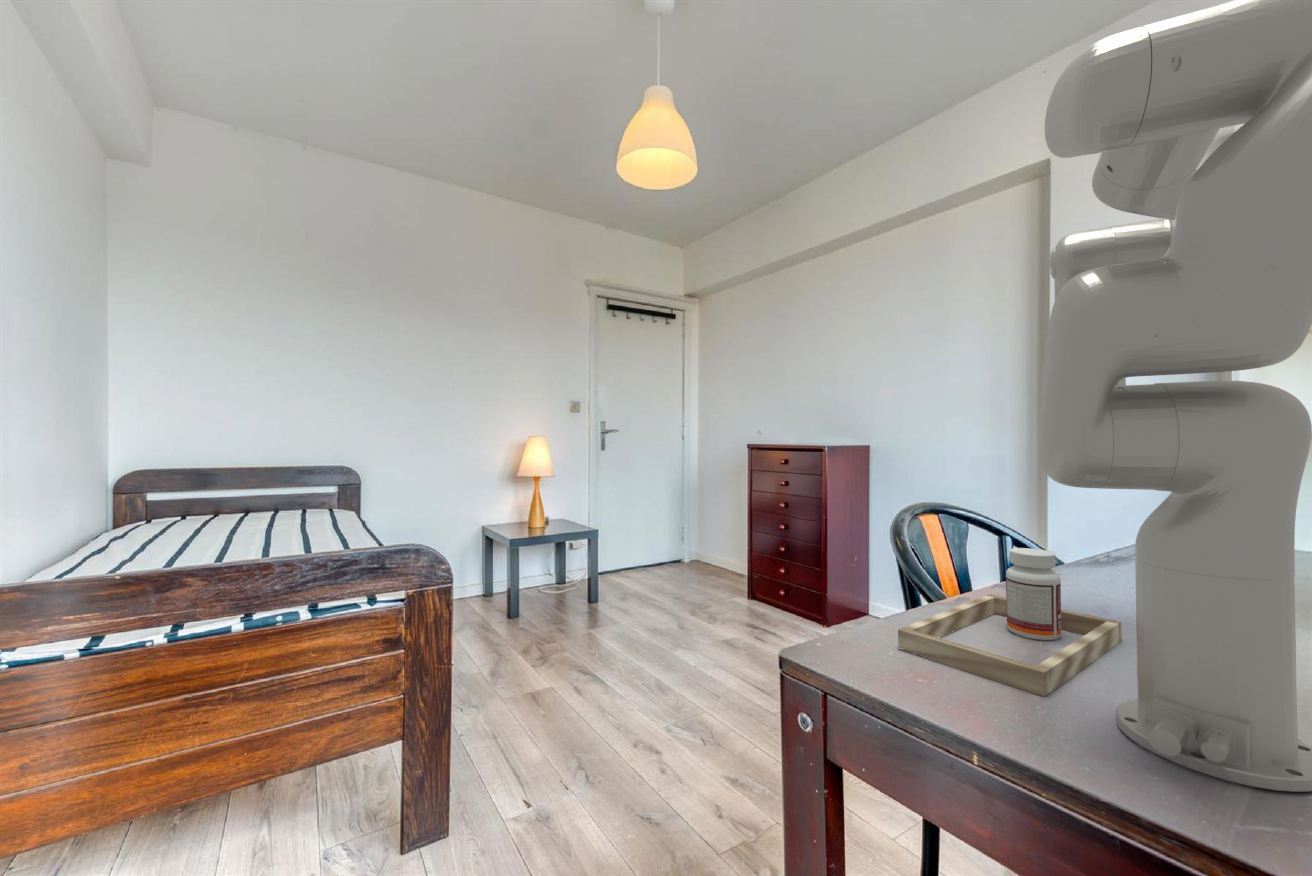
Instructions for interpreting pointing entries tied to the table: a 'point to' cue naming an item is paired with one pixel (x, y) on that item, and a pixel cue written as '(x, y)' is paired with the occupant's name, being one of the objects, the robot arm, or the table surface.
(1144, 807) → the table surface
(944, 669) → the table surface
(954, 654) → the tray frame
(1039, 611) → the pill bottle
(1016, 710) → the table surface
